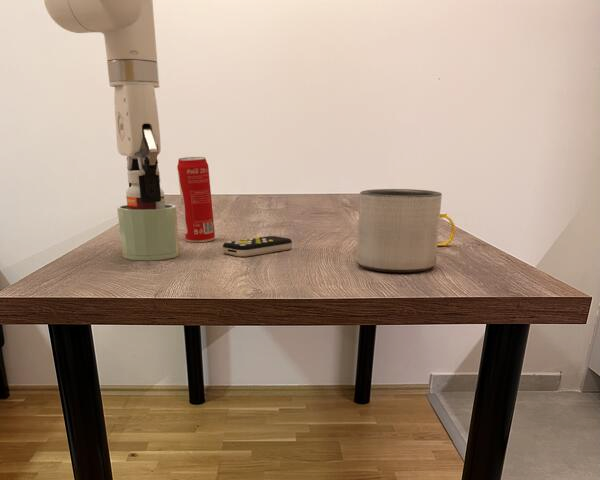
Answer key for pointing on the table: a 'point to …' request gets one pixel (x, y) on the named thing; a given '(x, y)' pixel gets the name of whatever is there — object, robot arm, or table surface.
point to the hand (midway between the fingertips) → (145, 198)
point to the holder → (148, 233)
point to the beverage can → (196, 199)
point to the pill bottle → (134, 194)
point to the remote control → (257, 246)
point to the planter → (398, 230)
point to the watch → (452, 229)
